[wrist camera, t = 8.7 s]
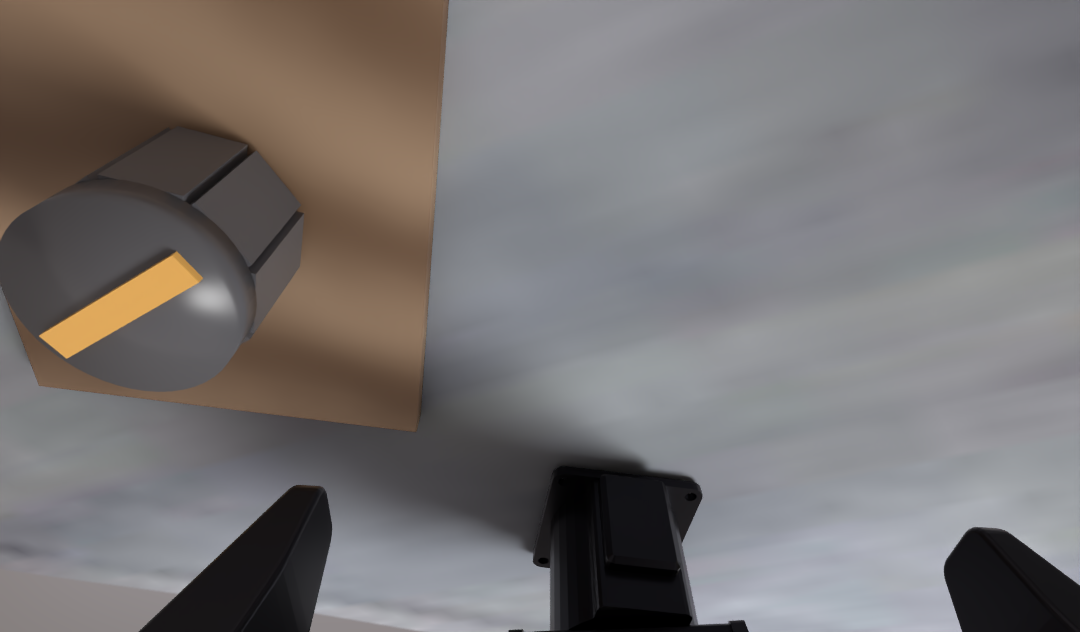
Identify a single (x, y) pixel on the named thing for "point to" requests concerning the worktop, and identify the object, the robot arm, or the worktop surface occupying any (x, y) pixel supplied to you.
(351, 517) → the worktop surface
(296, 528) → the robot arm
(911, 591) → the worktop surface
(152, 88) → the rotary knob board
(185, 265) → the grey dial knob
